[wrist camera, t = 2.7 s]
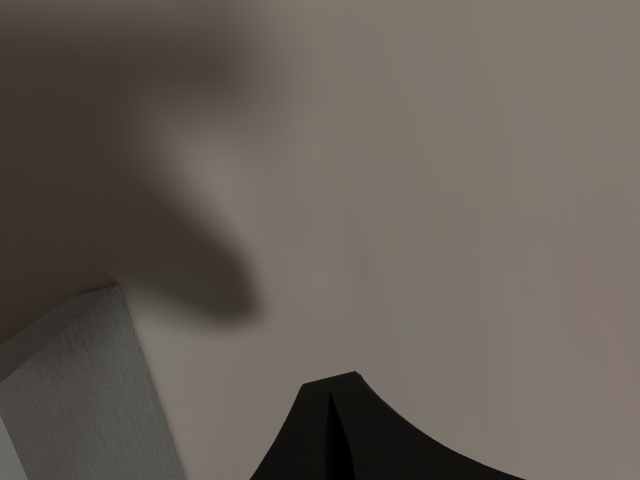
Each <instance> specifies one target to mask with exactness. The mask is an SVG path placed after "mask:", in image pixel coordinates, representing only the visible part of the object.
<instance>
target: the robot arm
mask: <svg viewBox="0 0 640 480" xmlns="http://www.w3.org/2000/svg"><path fill="white" fill-rule="evenodd" d="M250 480H525V479H522V478H519V477H516V476H513V475H510V474H507V473H504V472H501V471H499V470H496V469H493V468H491V467H488V466H486V465H483V464H481V463H479V462H477V461H474V460H472V459H470V458H468V457H466V456H463V455H461V454H459V453H457V452H455V451H453V450H451V449H449V448H447V447H446V446H444V445H442V444H441V443H439V442H437V441H435V440H434V439H432V438H431V437H429V436H428V435H426V434H425V433H423V432H422V431H420V430H419V429H417V428H416V427H415V426H413V425H412V424H411V423H409V422H408V421H407V420H405V419H404V418H403V417H402V416H400V415H399V414H398V413H397V412H396V411H394V410H393V409H392V408H391V407H390V406H389V405H388V404H387V403H385V402H384V401H383V400H382V399H381V398H380V397H379V396H378V395H377V394H376V393H375V392H374V391H373V390H372V389H371V388H370V386H369V385H368V384H367V383H366V382H365V381H364V379H363V378H362V376H361V375H360V374H359V373H357V372H356V371H353V372H349V373H345V374H341V375H337V376H333V377H329V378H325V379H321V380H317V381H313V382H309V383H305V384H303V385H302V387H301V388H300V390H299V392H298V394H297V397H296V399H295V401H294V404H293V406H292V408H291V410H290V412H289V414H288V416H287V418H286V420H285V422H284V424H283V426H282V428H281V430H280V432H279V434H278V435H277V437H276V439H275V441H274V443H273V444H272V446H271V447H270V449H269V451H268V452H267V454H266V456H265V457H264V459H263V460H262V462H261V464H260V465H259V467H258V468H257V470H256V471H255V473H254V474H253V476H252V477H251V478H250Z"/></svg>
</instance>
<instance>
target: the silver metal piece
mask: <svg viewBox="0 0 640 480" xmlns="http://www.w3.org/2000/svg"><path fill="white" fill-rule="evenodd" d="M0 480H186V477H185V474H184V471H183V468H182V466H181V463H180V460H179V457H178V454H177V451H176V448H175V445H174V442H173V439H172V437H171V434H170V431H169V428H168V425H167V422H166V419H165V416H164V413H163V410H162V408H161V405H160V402H159V399H158V396H157V393H156V390H155V387H154V384H153V381H152V379H151V376H150V373H149V370H148V367H147V364H146V361H145V358H144V355H143V352H142V350H141V347H140V344H139V341H138V338H137V335H136V332H135V329H134V326H133V323H132V321H131V318H130V315H129V312H128V309H127V306H126V303H125V300H124V297H123V294H122V292H121V289H120V286H119V285H115V286H111V287H107V288H103V289H99V290H95V291H91V292H87V293H83V294H79V295H75V296H71V297H69V298H67V299H66V300H64V301H63V302H62V303H60V304H59V305H57V306H56V307H54V308H53V309H52V310H50V311H49V312H47V313H46V314H44V315H43V316H42V317H40V318H39V319H37V320H36V321H34V322H33V323H32V324H30V325H29V326H27V327H26V328H24V329H23V330H22V331H20V332H19V333H17V334H16V335H14V336H13V337H12V338H10V339H9V340H7V341H6V342H4V343H3V344H2V345H0Z"/></svg>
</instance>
